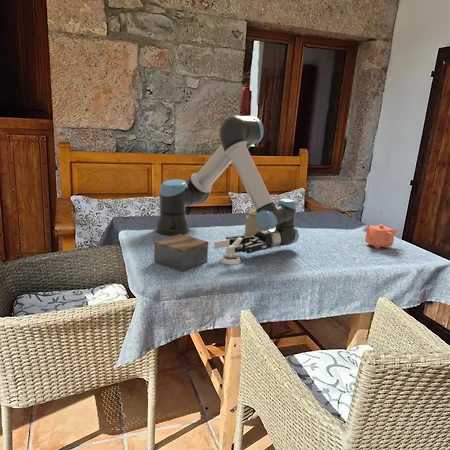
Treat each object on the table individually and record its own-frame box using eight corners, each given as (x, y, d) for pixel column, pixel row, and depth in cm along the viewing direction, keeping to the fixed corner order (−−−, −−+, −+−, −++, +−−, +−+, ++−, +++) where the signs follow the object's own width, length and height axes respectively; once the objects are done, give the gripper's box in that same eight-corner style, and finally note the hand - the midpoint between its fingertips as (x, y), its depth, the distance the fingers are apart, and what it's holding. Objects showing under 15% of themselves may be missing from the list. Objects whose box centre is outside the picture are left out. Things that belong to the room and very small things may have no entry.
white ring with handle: (254, 252, 157) (240, 243, 154) (234, 274, 160) (219, 265, 158) (251, 242, 163) (238, 233, 161) (232, 263, 167) (218, 254, 164)
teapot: (368, 240, 199) (371, 219, 196) (394, 245, 193) (398, 223, 190) (361, 247, 187) (364, 225, 184) (389, 253, 181) (392, 230, 178)
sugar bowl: (235, 230, 202) (237, 200, 198) (254, 228, 208) (256, 198, 204) (253, 239, 190) (255, 207, 186) (272, 236, 196) (275, 205, 192)
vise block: (154, 262, 156) (154, 241, 154) (179, 253, 167) (179, 233, 165) (182, 271, 148) (183, 250, 146) (207, 261, 160) (208, 241, 157)
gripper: (282, 255, 164) (236, 265, 151) (250, 241, 179) (205, 249, 166) (284, 237, 162) (237, 245, 149) (251, 224, 177) (206, 231, 164)
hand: (221, 247), depth 157 cm, fingers open, 7 cm apart
